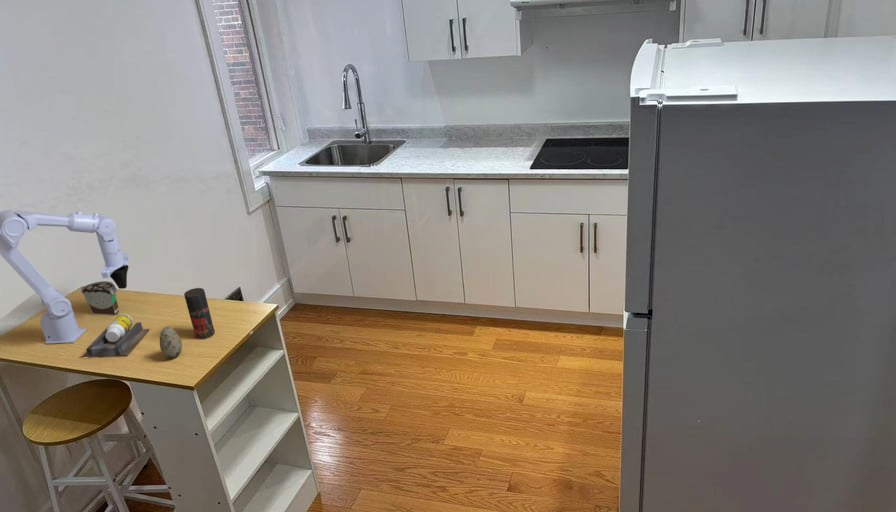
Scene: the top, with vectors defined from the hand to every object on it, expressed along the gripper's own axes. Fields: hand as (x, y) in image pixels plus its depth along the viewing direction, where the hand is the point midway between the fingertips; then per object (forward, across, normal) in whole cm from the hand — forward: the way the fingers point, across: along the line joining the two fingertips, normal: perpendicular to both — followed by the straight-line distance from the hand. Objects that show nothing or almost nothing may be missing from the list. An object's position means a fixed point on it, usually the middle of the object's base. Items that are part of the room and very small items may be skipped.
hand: (123, 287), depth 221 cm
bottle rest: (+10, -20, -5) cm, 22 cm away
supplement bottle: (+7, -11, -4) cm, 13 cm away
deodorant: (+10, -16, -32) cm, 37 cm away
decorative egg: (+10, -28, -27) cm, 40 cm away
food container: (+10, +3, +9) cm, 14 cm away
